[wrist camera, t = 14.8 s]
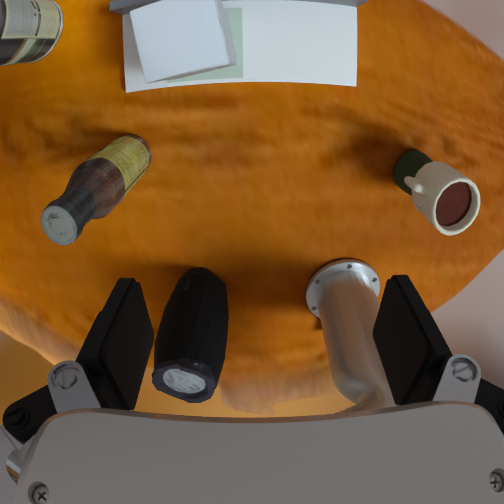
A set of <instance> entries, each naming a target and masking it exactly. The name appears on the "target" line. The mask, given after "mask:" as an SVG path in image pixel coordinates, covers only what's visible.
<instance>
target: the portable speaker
mask: <svg viewBox="0 0 504 504" xmlns="http://www.w3.org/2000/svg"><path fill="white" fill-rule="evenodd" d="M228 319H229V316H228V303H227V292H226V288H225V284H224V283H223V282H222V281H221V280H220V279H218V278H217V277H216V276H215V275H213V274H211V273H210V272H209V271H208V270H207V269H205V268H195V269H191V270H189V271H188V272H186V273H185V274H184V275H183V277H182V278H181V279H180V280H179V281H178V283H177V285H176V287H175V289H174V291H173V293H172V295H171V297H170V299H169V301H168V303H167V305H166V307H165V310H164V313H163V317H162V320H161V323H160V327H159V330H158V333H157V337H156V341H155V352H154V372H153V373H152V379H153V380H152V383H153V384H154V386H155V388H156V389H157V390H159V391H162V392H164V393H166V394H168V395H171V396H173V397H176V398H178V399H181V400H184V401H186V402H188V403H201V402H203V401H206V400H208V399H210V398H211V397H212V395H213V393H214V390H215V388H216V387H217V383H218V380H219V377H220V373H221V370H222V366H223V363H224V360H225V351H226V343H227V332H228Z"/></svg>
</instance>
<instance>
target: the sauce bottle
mask: <svg viewBox="0 0 504 504" xmlns="http://www.w3.org/2000/svg"><path fill="white" fill-rule="evenodd" d="M150 162H151V152H150V149H149V146H148V144H147V143H146V142H145V141H144V140H143V139H142V138H140V137H138V136H135V135H127V136H122V137H120V138H117V139H115V140H114V141H113V142H111V143H110V144H108V145H107V146H105V147H104V148H102V149H101V150H99V151H98V152H97V153H95V154H94V155H92V156H91V157H90V158H88V159H87V160H85V161H84V162H83V163H82V164H80V165H79V166H78V167H77V168H76V169H75V170H74V172H73V173H72V175H71V178H70V180H69V182H68V185H67V187H66V190H65V192H64V193H63V195H61V196H60V197H59V198H58V199H56V200H54V201H52V202H50V203H49V204H48V206H47V207H46V208H45V209H44V211H43V212H42V215H41V225H42V228H43V230H44V232H45V234H46V235H47V236H48V237H49V239H50V240H51V241H53V242H55V243H56V244H59V245H69V244H71V243H73V242H74V241H75V240H76V239H77V238H78V236H79V235H80V234H81V232H82V229H83V227H84V226H85V225H86V223H87V222H89V221H90V220H91V219H100V218H103V217H105V216H106V215H107V214H109V213H110V212H111V211H112V210H113V208H114V207H115V206H116V205H117V204H118V203H119V202H120V201H121V200H122V199H123V198H124V197H125V195H126V194H127V193H128V192H129V191H130V189H131V188H132V187H133V186H134V185H135V184H136V182H137V181H138V180H139V179H140V178H141V177H142V175H143V174H144V173H145V172H146V170H147V168H148V166H149V164H150Z"/></svg>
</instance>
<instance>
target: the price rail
mask: <svg viewBox="0 0 504 504" xmlns="http://www.w3.org/2000/svg"><path fill="white" fill-rule="evenodd" d="M158 1H161V0H115V1H111V2H110V11H112V12H115V13H118V14H121V15H125V14H130V11H132V10H134V9H137V8H140V7H143V6H146V5H149V4H152V3H155V2H158ZM221 1H229V0H221ZM292 1H308V2H320V3H329V4H338V5H345V6H352V7H358V6H360V5H361V4H363V3H365V2H367V0H292Z"/></svg>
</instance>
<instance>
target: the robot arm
mask: <svg viewBox="0 0 504 504" xmlns="http://www.w3.org/2000/svg"><path fill="white" fill-rule="evenodd" d="M379 291H380V281H379V278H378V275H377V274H376V272H375V270H374V269H373V268H372V267H371V266H370V265H368V264H367V263H365V262H363V261H360V260H355V259H344V260H338V261H335V262H332V263H330V264H328V265H326V266H324V267H323V268H321V269H320V270H318V271H317V272H316V273H315V274H314V275H313V277H312V278H311V280H310V281H309V283H308V285H307V289H306V301H307V305H308V307H309V309H310V311H311V312H312V313H313V314H314V315H315V316H316V317H318V318H320V320H321V325H322V330H323V334H324V339H325V344H326V348H327V353H328V358H329V363H330V368H331V373H332V377H333V381H334V384H335V386H336V388H337V389H338V390H339V392H340V393H341V394H342V395H343V396H344V397H346V398H347V399H349V400H350V401H352V402H353V403H355V404H357V405H355V406H352V407H350V408H347V409H346V410H343V411H340V412H337V413H334V414H327V415H313V416H297V417H268V418H230V417H228V418H227V417H226V418H225V417H200V416H184V415H170V414H159V413H148V412H138V411H130V410H134V408H135V405H136V402H137V398H138V394H139V390H140V387H141V383H142V379H143V376H144V372H145V369H146V365H147V362H148V358H149V355H150V351H151V348H152V345H153V341H154V332H153V328H152V325H151V322H150V318H149V315H148V311H147V308H146V304H145V300H144V297H143V293H142V289H141V285H140V283H139V282H136V280H135V279H134V278H119V279H118V281H117V283H116V285H115V287H114V289H113V290H112V292H111V294H110V296H109V298H108V300H107V302H106V304H105V306H104V308H103V310H102V311H100V312H99V314H98V315H97V317H96V319H95V321H94V323H93V325H92V327H91V329H90V331H89V333H88V335H87V338H86V340H85V342H84V344H83V346H82V348H81V350H80V352H79V354H78V357H77V359H76V361H71V360H69V361H63V362H60V363H58V364H57V365H55V366H54V367H53V368H52V369H51V370H50V372H49V374H48V378H47V382H48V385H46V386H44V387H42V388H40V389H39V390H37V391H35V392H33V393H31V394H29V395H27V396H26V397H24V398H22V399H20V400H18V401H16V402H14V403H13V404H11V405H10V406H9V407H8V408H7V409H6V410H5V412H4V415H3V424H2V425H1V426H0V504H504V390H503V389H501V388H499V387H497V386H495V385H493V384H491V383H490V382H488V381H486V380H484V379H482V378H481V370H480V367H479V365H478V364H477V362H476V361H475V360H474V359H473V358H471V357H469V356H467V355H463V354H457V355H454V356H453V355H452V353H451V351H450V349H449V347H448V345H447V344H446V341H445V340H444V338H443V336H442V334H441V332H440V330H439V328H438V326H437V325H436V323H435V321H434V319H433V317H432V316H431V314H430V312H429V310H428V309H427V307H426V306H425V304H424V302H423V300H422V299H421V297H420V295H419V294H418V292H417V290H416V289H415V287H414V285H413V283H412V282H411V280H410V279H409V277H408V276H407V275H393V276H392V277H391V279H388V280H387V282H386V286H385V290H384V293H383V297H382V301H381V304H380V303H379V301H378V298H377V297H378V294H379Z"/></svg>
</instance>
